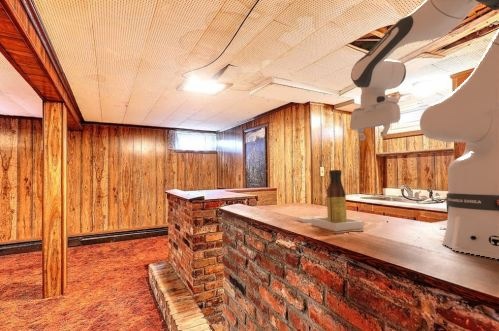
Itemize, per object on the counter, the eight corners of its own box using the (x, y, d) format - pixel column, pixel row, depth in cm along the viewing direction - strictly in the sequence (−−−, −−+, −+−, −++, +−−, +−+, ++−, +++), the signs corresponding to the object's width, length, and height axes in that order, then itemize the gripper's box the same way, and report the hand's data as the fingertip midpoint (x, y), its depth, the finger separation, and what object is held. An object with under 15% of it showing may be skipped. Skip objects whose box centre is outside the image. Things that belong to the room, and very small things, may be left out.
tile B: (315, 221, 96) (315, 218, 96) (303, 222, 95) (303, 219, 95) (308, 219, 101) (308, 216, 101) (297, 220, 99) (297, 217, 99)
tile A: (327, 220, 99) (327, 217, 99) (318, 221, 97) (318, 218, 97) (318, 218, 104) (318, 215, 104) (309, 219, 101) (309, 216, 101)
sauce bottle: (350, 227, 86) (350, 170, 87) (338, 229, 83) (338, 169, 84) (334, 224, 92) (334, 170, 93) (323, 226, 88) (323, 170, 90)
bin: (363, 231, 85) (363, 221, 85) (335, 234, 79) (335, 223, 79) (337, 225, 95) (337, 216, 95) (311, 228, 90) (311, 218, 90)
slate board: (331, 224, 98) (331, 221, 98) (306, 226, 93) (306, 223, 93) (314, 220, 107) (314, 217, 107) (290, 222, 102) (290, 219, 102)
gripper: (346, 108, 107) (346, 140, 107) (391, 94, 89) (391, 133, 88) (357, 110, 110) (357, 142, 109) (402, 97, 92) (403, 135, 91)
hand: (373, 138), depth 99 cm, fingers open, 8 cm apart
